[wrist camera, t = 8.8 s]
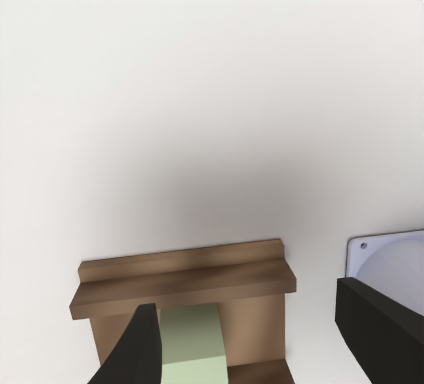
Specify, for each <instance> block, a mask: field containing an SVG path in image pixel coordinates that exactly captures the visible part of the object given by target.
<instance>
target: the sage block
mask: <svg viewBox="0 0 424 384" xmlns="http://www.w3.org/2000/svg"><path fill="white" fill-rule="evenodd" d="M159 329H160V335H161V341H162V378H161V384H228V375H227V364H226V355H225V349H224V343H223V337H222V331H221V325H220V319H219V314H218V308H217V302H213V303H205V304H197V305H189V306H181V307H173V308H166V309H160V322H159Z"/></svg>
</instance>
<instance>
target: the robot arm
mask: <svg viewBox="0 0 424 384" xmlns="http://www.w3.org/2000/svg"><path fill="white" fill-rule="evenodd" d="M362 243H364V245H363V246H361V244H362ZM360 246H361V247H360ZM335 322H336V324H337V326H338V328H339V330H340V332H341V335H342V337H343V338H344V340H345V342H346V344H347V346H348V348H349V349H350V351H351V352H352V354H353V355H354V357H355V358H356V360H357V362H358V363H359V365H360V366H361V368H362V369H363V371H364V372H365V374H366V375H367V377H368V378H369V380H370V381H371V383H372V384H424V230H423V231H414V232H405V233H397V234H388V235H380V236H371V237H363V238H355V239H352V240H351V241H350V242H349V245H348V258H347V274H346V278H338V279H337V293H336V311H335ZM161 378H162V341H161V335H160V329H159V322H158V316H157V310H156V304H155V303H149V304H141V305H139V306H138V307H137V308H136V310H135V312H134V314H133V316H132V318H131V320H130V322H129V323H128V325H127V327H126V329H125V330H124V332H123V334H122V335H121V337H120V339H119V340H118V342H117V343H116V345H115V347H114V348H113V350H112V351H111V352H110V354H109V355H108V357H107V358H106V360H105V361H104V363H103V364H102V365H101V367H100V368H99V369H98V371H97V372H96V373H95V375H94V376H93V377H92V379H91V380H90V381H89V382H88V383H87V384H161Z"/></svg>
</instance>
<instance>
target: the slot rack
mask: <svg viewBox="0 0 424 384" xmlns="http://www.w3.org/2000/svg"><path fill="white" fill-rule="evenodd" d="M78 273H79V278H80V282H81V283H80V285H79V287H78V289H77V291H76V294H75V296H74V298H73V300H72V302H71V304H70V306H69V308H70V312H71V315H72V319H73V320H78V319H86V318H89V319H90V323H91V327H92V331H93V336H94V340H95V344H96V348H97V352H98V356H99V360H100V365H102V364H103V363H104V361H105V360H106V358H107V357H108V355H109V354H110V352H111V351H112V350H113V348H114V347H115V345H116V343H117V342H118V340H119V339H120V337H121V335H122V334H123V332H124V330H125V329H126V327H127V325H128V323H129V322H130V320H131V318H132V316H133V314H134V312H135V310H136V308H137V307H138V306H139V305H141V304H149V303H155V304H156V310H157V316H158V322H160V309H166V308H173V307H181V306H189V305H197V304H205V303H213V302H217V308H218V314H219V319H220V325H221V331H222V337H223V343H224V349H225V355H226V364H227V375H228V384H295V383H294V381H293V378H292V375H291V373H290V370H289V367H288V365H287V362H286V360H285V293H292V292H296V277H295V275H294V274H293V272H292V270H291V269H290V267H289V265H288V264H287V262H286V260H285V259H284V244H283V243H282V241H281V240H280V239H277V240H269V241H260V242H251V243H243V244H234V245H225V246H216V247H208V248H199V249H190V250H182V251H173V252H164V253H156V254H147V255H138V256H130V257H121V258H112V259H104V260H95V261H86V262H82V263H81V264H80V266H79V268H78Z"/></svg>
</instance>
